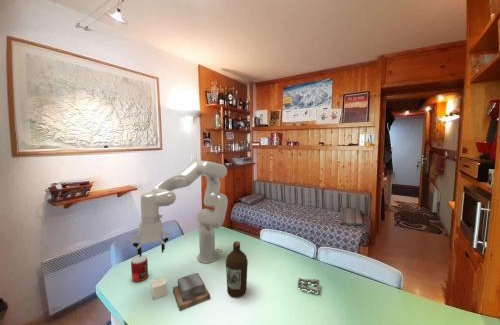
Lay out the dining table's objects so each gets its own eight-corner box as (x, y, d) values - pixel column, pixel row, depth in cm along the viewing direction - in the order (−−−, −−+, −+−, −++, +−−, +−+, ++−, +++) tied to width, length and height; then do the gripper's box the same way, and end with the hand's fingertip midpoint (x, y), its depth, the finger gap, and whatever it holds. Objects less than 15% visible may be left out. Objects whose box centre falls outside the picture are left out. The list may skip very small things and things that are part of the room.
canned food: (141, 283, 110) (140, 263, 109) (128, 281, 112) (127, 261, 111) (151, 274, 118) (150, 255, 116) (138, 272, 119) (137, 254, 118)
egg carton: (320, 287, 108) (320, 279, 107) (318, 297, 101) (319, 289, 101) (299, 281, 112) (299, 274, 112) (296, 290, 105) (296, 283, 105)
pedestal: (200, 281, 112) (200, 269, 111) (210, 298, 100) (209, 284, 99) (172, 291, 104) (172, 278, 104) (179, 310, 92) (179, 295, 92)
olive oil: (231, 282, 111) (230, 236, 109) (250, 286, 108) (250, 239, 106) (222, 296, 101) (221, 246, 99) (243, 301, 98) (243, 249, 96)
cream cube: (164, 287, 107) (164, 276, 106) (166, 295, 102) (166, 283, 101) (151, 292, 104) (151, 280, 103) (153, 300, 99) (152, 288, 98)
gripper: (169, 214, 107) (170, 246, 109) (130, 218, 100) (132, 253, 102) (170, 218, 100) (171, 253, 102) (128, 224, 93) (130, 261, 95)
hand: (151, 253), depth 102 cm, fingers open, 9 cm apart
